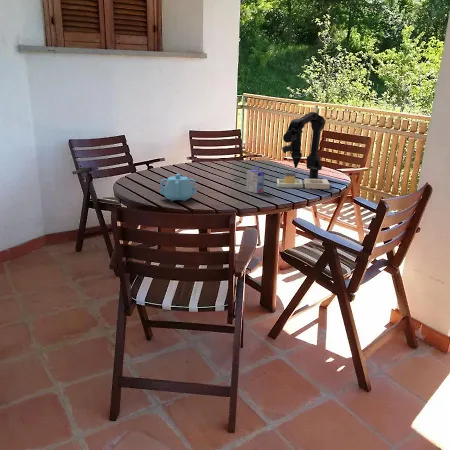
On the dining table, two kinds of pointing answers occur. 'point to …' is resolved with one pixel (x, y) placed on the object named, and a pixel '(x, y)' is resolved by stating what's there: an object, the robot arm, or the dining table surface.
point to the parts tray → (282, 184)
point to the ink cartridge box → (255, 181)
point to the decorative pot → (178, 188)
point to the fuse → (290, 178)
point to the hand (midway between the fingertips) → (295, 166)
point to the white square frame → (317, 183)
